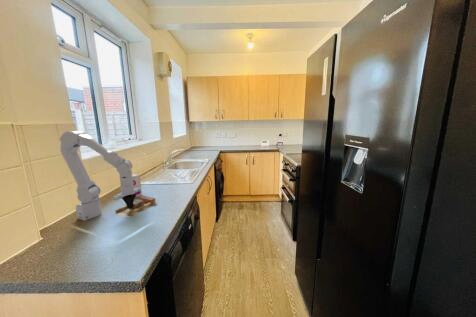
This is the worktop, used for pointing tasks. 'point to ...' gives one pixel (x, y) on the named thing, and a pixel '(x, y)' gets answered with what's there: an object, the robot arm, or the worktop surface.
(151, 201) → the guide channel
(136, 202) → the block
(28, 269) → the worktop surface
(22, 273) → the worktop surface
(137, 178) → the supplement can
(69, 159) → the robot arm
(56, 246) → the worktop surface
